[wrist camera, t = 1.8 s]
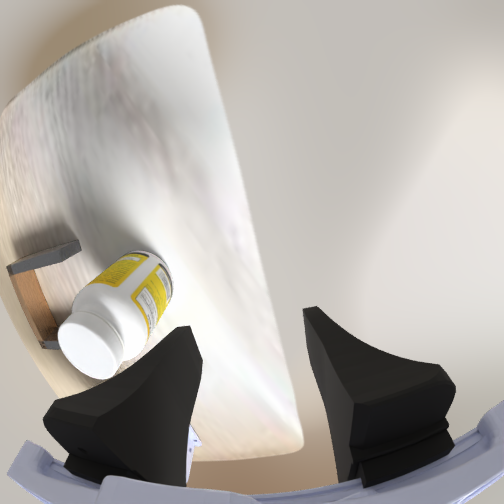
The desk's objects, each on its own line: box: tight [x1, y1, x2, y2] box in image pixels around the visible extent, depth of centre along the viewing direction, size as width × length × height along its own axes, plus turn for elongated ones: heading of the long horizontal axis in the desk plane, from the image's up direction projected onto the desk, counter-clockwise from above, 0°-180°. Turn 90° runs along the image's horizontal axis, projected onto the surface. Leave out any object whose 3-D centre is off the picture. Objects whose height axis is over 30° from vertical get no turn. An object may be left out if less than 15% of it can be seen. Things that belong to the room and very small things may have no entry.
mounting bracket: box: [6, 240, 81, 350], centre depth 20 cm, size 9×9×3 cm
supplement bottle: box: [58, 251, 174, 379], centre depth 16 cm, size 5×5×10 cm
